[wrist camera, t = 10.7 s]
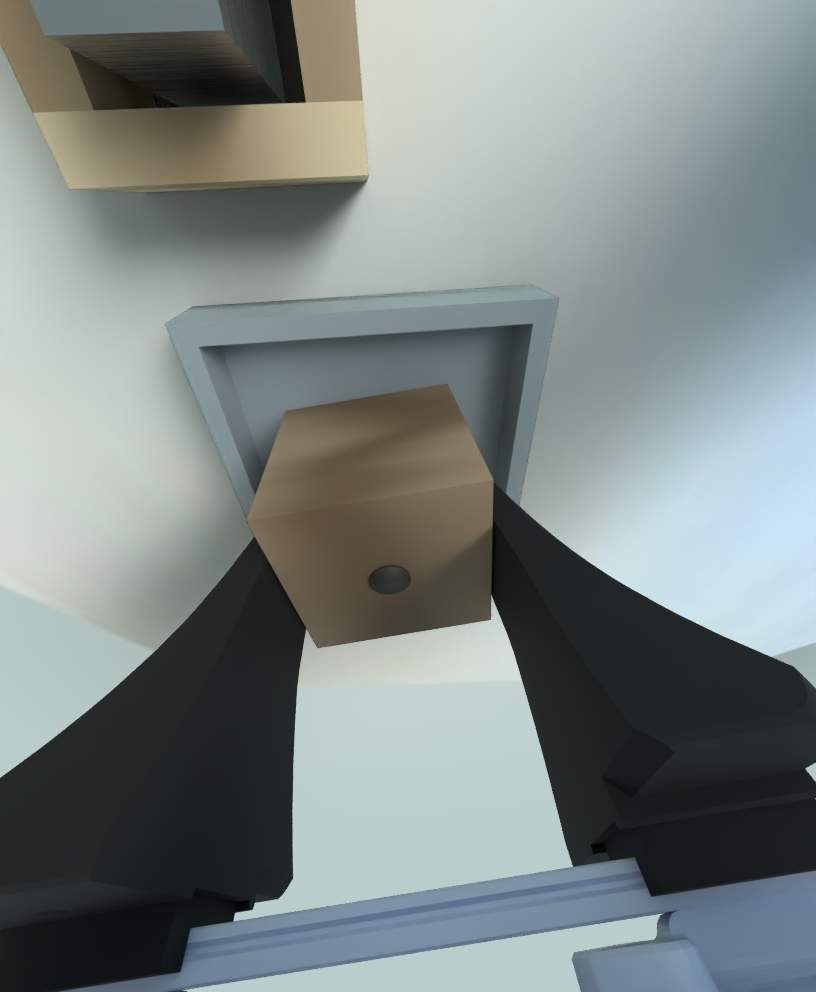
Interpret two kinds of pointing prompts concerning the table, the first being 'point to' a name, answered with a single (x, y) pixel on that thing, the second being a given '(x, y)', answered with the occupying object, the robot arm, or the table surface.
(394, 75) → the table surface
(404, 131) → the table surface
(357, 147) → the wooden square frame
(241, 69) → the gray metal block
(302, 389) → the tray
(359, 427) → the walnut block
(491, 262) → the table surface
